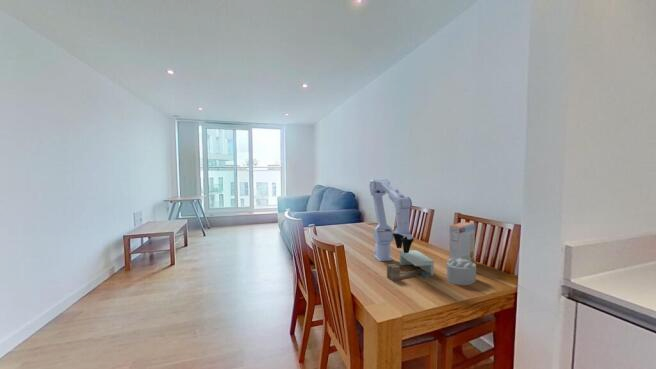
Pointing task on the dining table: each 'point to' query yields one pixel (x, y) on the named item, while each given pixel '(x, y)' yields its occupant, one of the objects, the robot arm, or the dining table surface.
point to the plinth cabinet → (417, 260)
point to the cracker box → (462, 241)
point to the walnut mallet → (395, 274)
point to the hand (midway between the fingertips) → (402, 250)
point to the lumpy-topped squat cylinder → (461, 271)
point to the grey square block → (425, 274)
